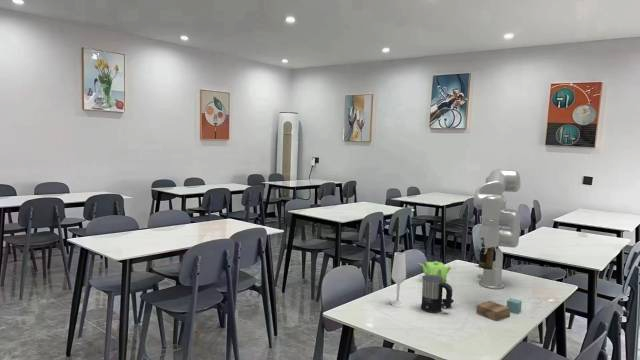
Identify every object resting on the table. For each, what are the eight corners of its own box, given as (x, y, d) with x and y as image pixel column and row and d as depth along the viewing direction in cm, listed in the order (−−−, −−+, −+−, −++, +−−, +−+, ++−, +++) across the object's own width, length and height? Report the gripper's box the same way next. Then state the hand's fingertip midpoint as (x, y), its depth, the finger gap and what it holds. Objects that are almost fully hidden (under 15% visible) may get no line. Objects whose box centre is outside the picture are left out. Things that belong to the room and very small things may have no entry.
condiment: (485, 264, 210) (487, 239, 209) (499, 269, 202) (501, 243, 201) (473, 266, 207) (475, 240, 206) (487, 270, 199) (489, 244, 198)
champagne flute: (387, 303, 207) (389, 253, 205) (395, 300, 212) (397, 251, 210) (399, 307, 202) (402, 256, 200) (407, 304, 207) (410, 253, 205)
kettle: (440, 287, 233) (441, 267, 232) (416, 281, 243) (417, 261, 242) (453, 282, 244) (454, 262, 243) (430, 276, 253) (431, 257, 253)
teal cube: (506, 311, 203) (507, 300, 202) (509, 308, 206) (510, 297, 206) (517, 314, 199) (518, 303, 199) (520, 311, 203) (521, 300, 203)
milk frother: (419, 311, 199) (420, 278, 198) (423, 299, 214) (425, 269, 213) (451, 316, 194) (453, 283, 193) (454, 304, 209) (456, 273, 208)
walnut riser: (476, 313, 198) (477, 304, 198) (489, 309, 204) (490, 300, 204) (496, 321, 190) (497, 312, 190) (509, 316, 196) (510, 307, 196)
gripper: (494, 220, 211) (491, 257, 212) (471, 222, 201) (468, 261, 202) (508, 223, 205) (505, 261, 206) (485, 225, 195) (483, 265, 196)
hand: (487, 261), depth 204 cm, fingers closed on condiment, 6 cm apart
